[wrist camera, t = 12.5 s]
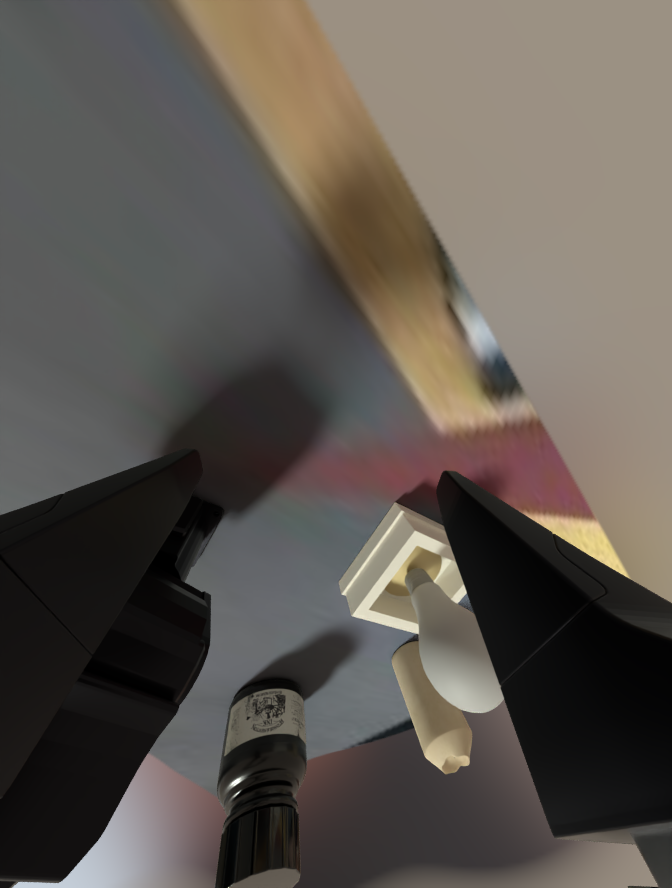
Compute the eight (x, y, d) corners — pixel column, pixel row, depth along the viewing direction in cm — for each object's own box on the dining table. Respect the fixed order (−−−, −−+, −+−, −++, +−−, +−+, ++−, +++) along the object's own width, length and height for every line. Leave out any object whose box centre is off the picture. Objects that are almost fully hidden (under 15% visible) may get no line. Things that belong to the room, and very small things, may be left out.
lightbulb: (375, 589, 26) (431, 736, 16) (401, 542, 25) (481, 670, 15) (421, 597, 28) (499, 735, 18) (448, 554, 27) (549, 676, 16)
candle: (406, 636, 32) (455, 748, 23) (436, 643, 34) (492, 749, 25) (383, 665, 33) (422, 783, 24) (413, 670, 35) (460, 782, 26)
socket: (412, 605, 31) (429, 639, 27) (338, 582, 27) (347, 617, 23) (466, 537, 29) (493, 563, 25) (395, 501, 25) (414, 526, 21)
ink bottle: (312, 673, 31) (328, 848, 20) (298, 718, 33) (306, 897, 22) (230, 679, 29) (196, 883, 17) (221, 727, 31) (186, 934, 20)
